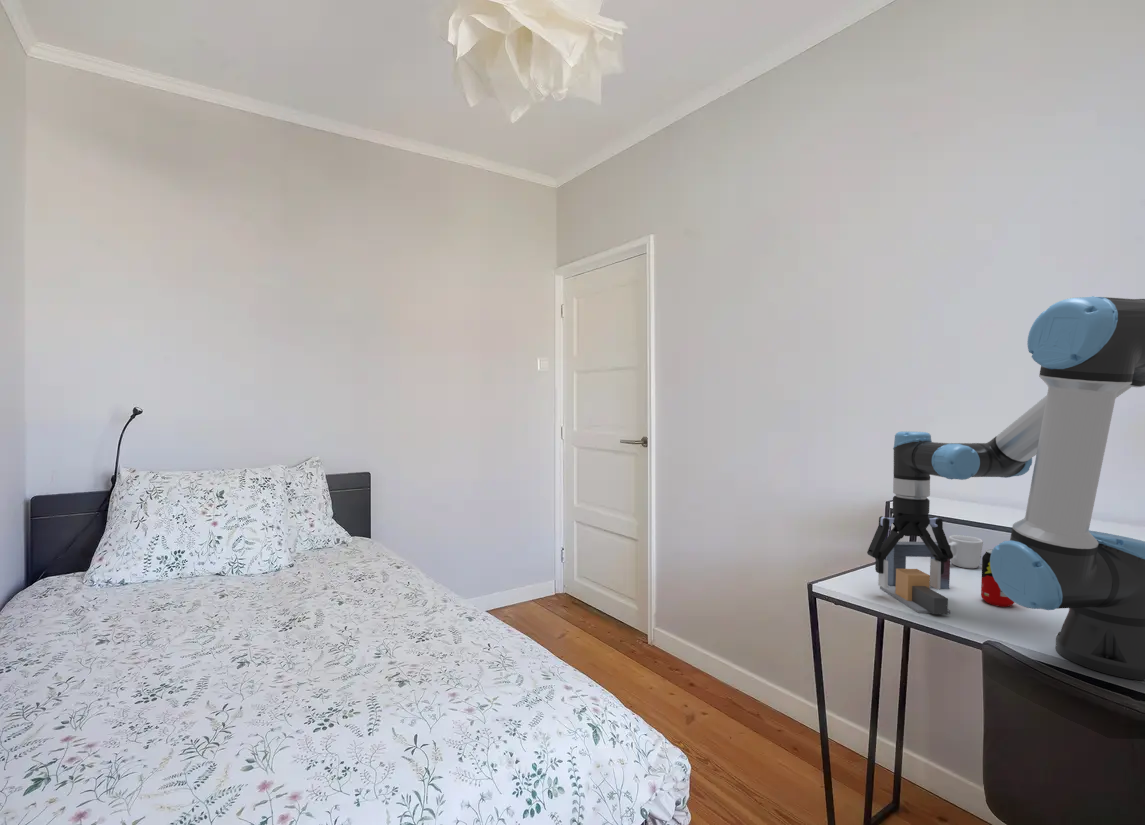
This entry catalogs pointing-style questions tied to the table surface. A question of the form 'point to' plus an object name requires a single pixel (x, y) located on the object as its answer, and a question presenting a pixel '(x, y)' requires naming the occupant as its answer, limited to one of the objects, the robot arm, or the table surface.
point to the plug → (920, 590)
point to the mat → (909, 603)
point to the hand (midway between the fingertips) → (908, 587)
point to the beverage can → (991, 585)
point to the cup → (965, 551)
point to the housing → (912, 550)
